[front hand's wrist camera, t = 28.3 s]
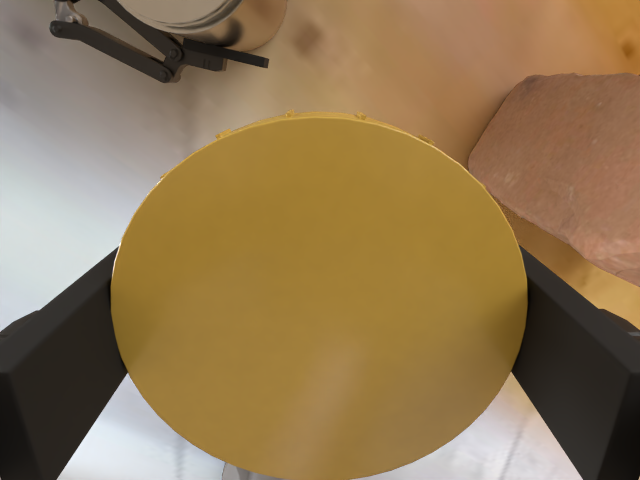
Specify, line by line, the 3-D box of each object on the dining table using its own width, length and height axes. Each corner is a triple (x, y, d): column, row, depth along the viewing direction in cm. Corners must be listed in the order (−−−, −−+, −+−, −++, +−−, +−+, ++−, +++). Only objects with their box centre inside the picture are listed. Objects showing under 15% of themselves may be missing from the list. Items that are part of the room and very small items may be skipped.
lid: (521, 397, 13) (549, 439, 11) (216, 465, 14) (203, 513, 12) (469, 54, 10) (499, 48, 8) (69, 177, 10) (27, 193, 9)
